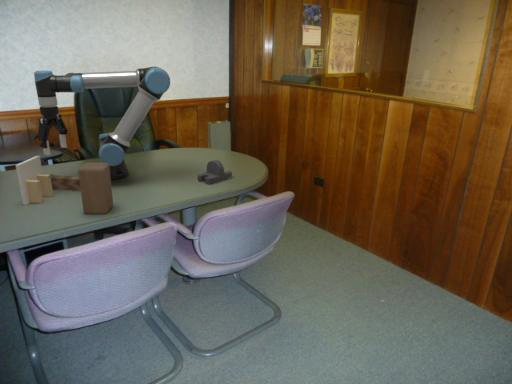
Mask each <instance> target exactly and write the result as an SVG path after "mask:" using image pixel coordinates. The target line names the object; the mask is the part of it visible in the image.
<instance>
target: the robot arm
mask: <svg viewBox="0 0 512 384" xmlns="http://www.w3.org/2000/svg"><path fill="white" fill-rule="evenodd" d="M33 75H34V76H33V78H34V84H35V90H36V95H37V100H38V105H39V111H40V115H41V116H42V117H43V118H39V119H38V130H37V131H38V132H37V141H38V142H41V146H42V147H41V148H42V150H43V151H42V152H43V155H44V156H51V154H52V153H51V149H50V143H49V140H48V138H49V134H50V130H51V129H52V128H53V127H54V128H55V129H56V130H57V131H58V133H59V134H58V138H59V144H60V148H64V149H67V148H68V143H67V139H66V135H68V128H67V126H66V124H65V122H64V119H63V116H62V114H59V113H60V112H59V106H58V105H59V104H58V98H57V93H58V94H59V93H74V94H75V93H76V94H77V93H83V92H84V90H85V89H87V90H89V89H107V88H108V89H109V88H128V87H130V88H131V87H137V88H138V92H137V94H136V96H135V97H134V99H133V100H132V101H131V103H130V105H129V106H128V108H127V109H126V111H125V113H124V115H123V116H122V118H121V119H120V121H119V123H118V124H117V125H116V127H115V129H114V131H113V132H107V133H101V134H99V135H98V141H99V150H98V158H99V159H100V161H101V163H108V164H109V168H110V178H111V180H120V179H124V178H126V177H128V176H129V175H130V171H129V167H128V166H127V163H126V161H125V158H126V157H125V156H126V154H127V152H128V151H129V148H131V142H130V141H131V140H132V138H133V137H134V136H135V134H136V132H137V130H138V128H139V127H140V126H141V124H142V122H143V121H144V119H145V118H146V117H147V114H148V113H149V112H150V109H152V108H151V107H152V106H153V105H154V103H155V102H157V101H160V100H161V98H162V96H163V95H164V94H165V93H166V92H167V91H168V90H169V88H170V87H171V78H170V77H171V76H169V74H168V72H167V71H166V70H165V69H163V68H162V67H159V66H150V67H149V66H148V67H143V68H137V69H136V70H126V71H125V70H123V71H121V70H120V71H101V72H100V71H98V72H77V73H76V72H75V73H74V72H69V73H66V74H65V75H62V74H61V75H57V74H54V73H53V71H52V70H44V69H43V70H35V71H34V72H33Z"/></svg>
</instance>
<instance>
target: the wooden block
mask: <svg viewBox="0 0 512 384" xmlns="http://www.w3.org/2000/svg"><path fill="white" fill-rule="evenodd" d="M77 171H78V173H77V174H78V177H79V181H80V188H81V191H80V194H81V195H80V196H81V202H82V203H81V204H82V210H83V213H84V214H87V215H88V214H91V215H92V214H97V215H98V214H102V215H103V214H105V215H106V214H108V213H109V212H110V210H111V208H112V207H113V205H114V201H113V190H112V189H113V188H112V182H111V181H112V179H111V178H110V168H109V164H108V163H102V162H85V163H84V164H83V165H82V166H80V167H79V168H78V170H77Z"/></svg>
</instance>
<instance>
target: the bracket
mask: <svg viewBox="0 0 512 384" xmlns="http://www.w3.org/2000/svg"><path fill="white" fill-rule="evenodd" d="M224 167H225V166H224V164H223V163H222V161H220V160H218V159H214V160H210V161H208V162H207V164H206V172H202V173H198V174H197V182H199V183H202V181H203V182H204V185H205V184H206V185H208V186H209V185H210V186H211V185H214V183H215V184H218V183H220V182H219V181H221V182H223V181H222V180H224V181H226V180H225V179H227V180H229V179H228V178H230V177H232V178H233V171H231V170H227V171H225V168H224ZM230 179H231V178H230ZM217 182H218V183H217Z"/></svg>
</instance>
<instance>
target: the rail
mask: <svg viewBox="0 0 512 384" xmlns="http://www.w3.org/2000/svg"><path fill="white" fill-rule="evenodd" d="M49 175H50V177H51V183H52V190H53V191H68V190H72V192H81V188H80V181H79V176H74V175H73V176H72V175H59V174H57V175H54V174H53V173H50V174H49Z"/></svg>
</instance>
